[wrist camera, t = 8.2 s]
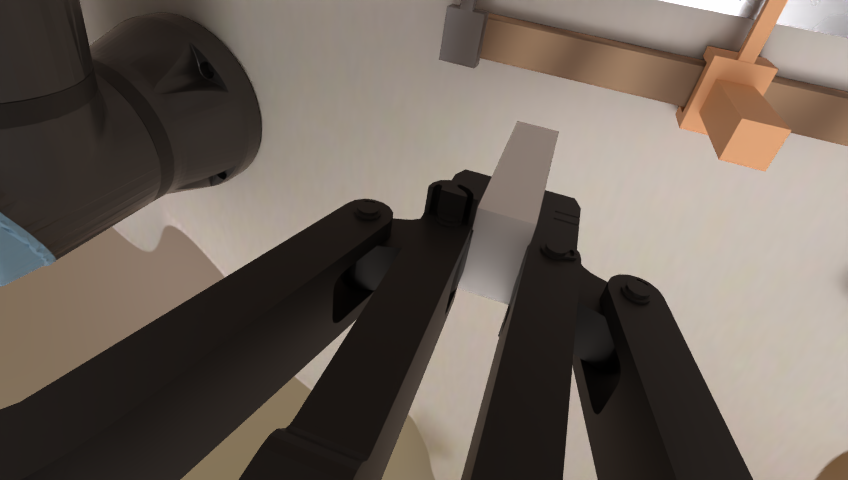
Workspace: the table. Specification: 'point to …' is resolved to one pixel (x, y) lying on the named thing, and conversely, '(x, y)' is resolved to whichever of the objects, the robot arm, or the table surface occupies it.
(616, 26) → the table surface
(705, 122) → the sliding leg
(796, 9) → the metal board
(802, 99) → the beam
